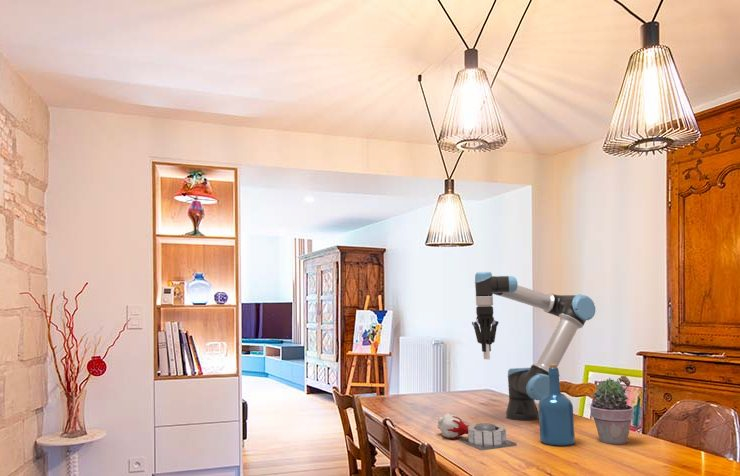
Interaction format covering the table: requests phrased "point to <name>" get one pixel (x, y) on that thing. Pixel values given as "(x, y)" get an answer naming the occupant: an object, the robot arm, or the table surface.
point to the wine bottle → (556, 414)
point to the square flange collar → (487, 438)
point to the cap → (485, 426)
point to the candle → (452, 426)
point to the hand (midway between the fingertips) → (486, 359)
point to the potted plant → (612, 411)
